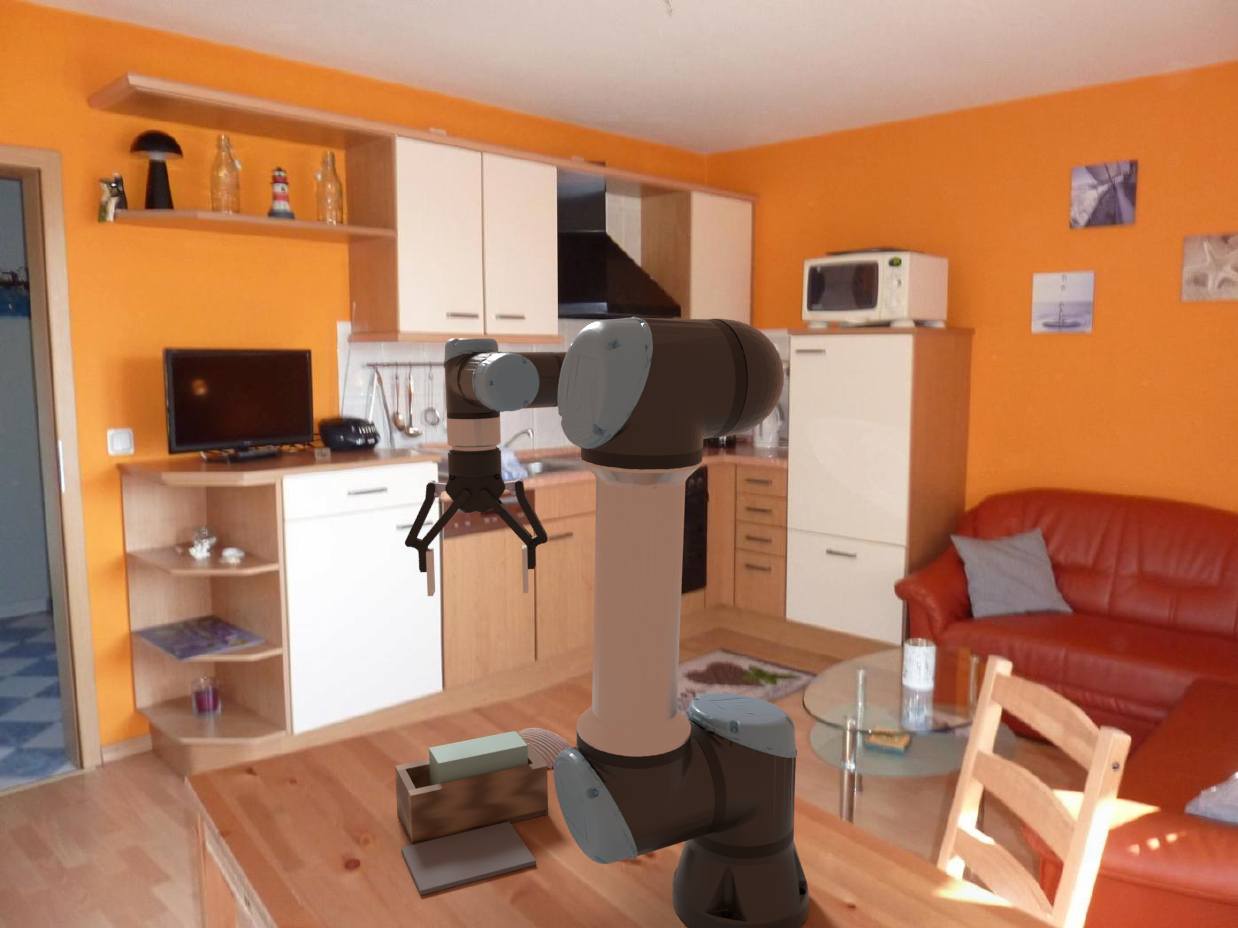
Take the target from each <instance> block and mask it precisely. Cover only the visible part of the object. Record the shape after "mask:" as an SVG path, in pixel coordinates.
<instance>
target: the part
mask: <svg viewBox="0 0 1238 928" xmlns="http://www.w3.org/2000/svg"><path fill="white" fill-rule="evenodd" d="M517 732H518V731H516V730H514V731H508V732H503V733H498V734H492V735H488V736H482V737H476V738H471V739H468V740H461V741H458V742H457V741H456V742H453V743H452V742H451V743H447V744H441V745H436V746H431V747H428V757H429V758H428V759H429V765H430V784H431V785H436V784H441V783H445V782H450V781H455V780H459V779H464V778H468V777H473V776H478V775H482V774H487V773H492V772H496V771H501V770H506V769H510V768H515V767H520V766H524V765H528V746H527V744H526V743H525V742H524V741H523V739H522V738H521V737H520V736H519V735H518V734H517Z"/></svg>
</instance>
